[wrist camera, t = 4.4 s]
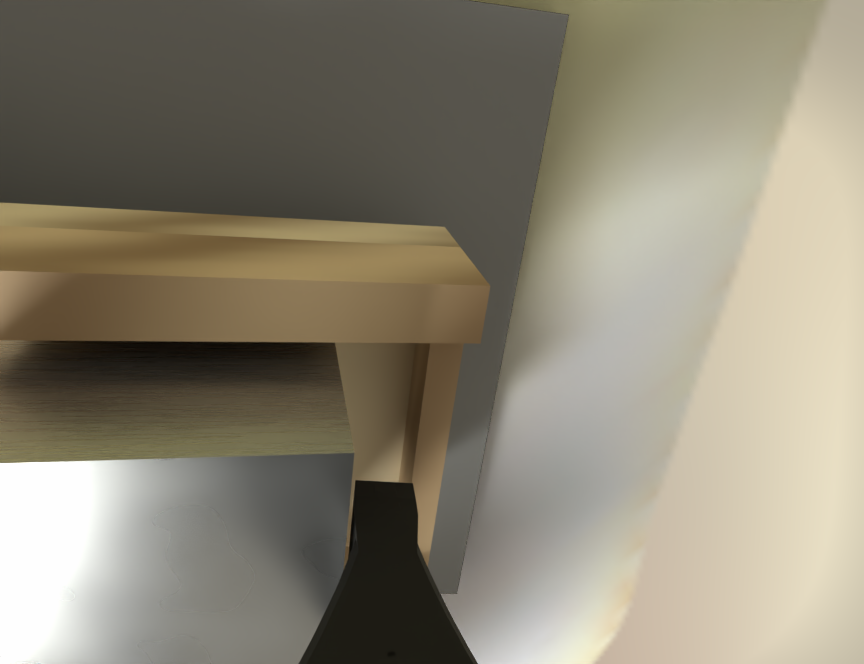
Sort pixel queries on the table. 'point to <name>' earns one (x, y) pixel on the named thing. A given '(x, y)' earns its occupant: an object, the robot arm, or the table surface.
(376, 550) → the robot arm
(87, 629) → the steel block
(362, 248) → the balance beam
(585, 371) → the table surface
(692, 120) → the table surface
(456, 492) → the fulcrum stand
